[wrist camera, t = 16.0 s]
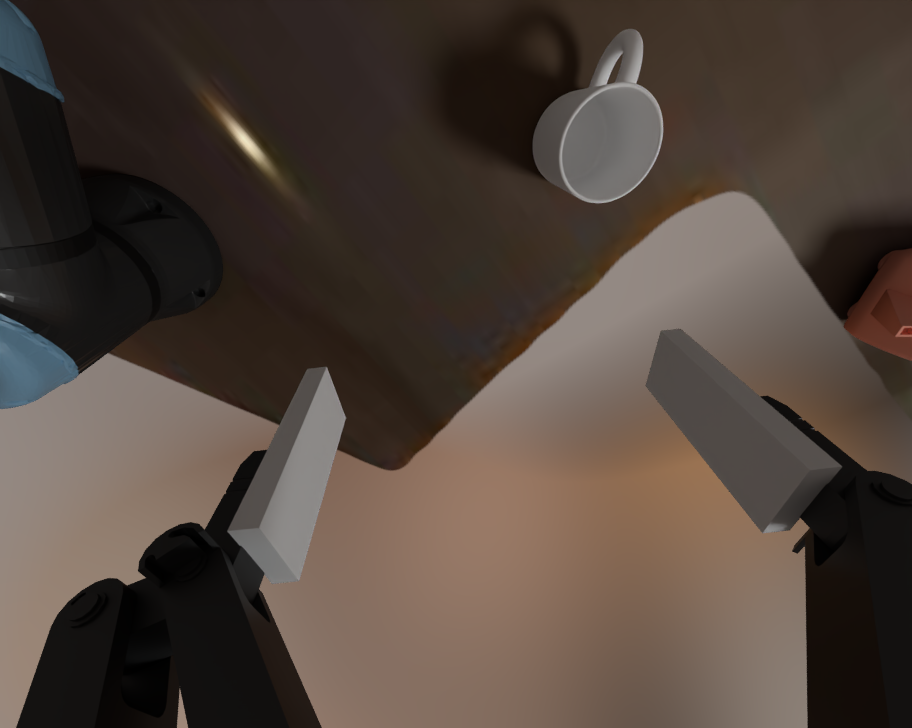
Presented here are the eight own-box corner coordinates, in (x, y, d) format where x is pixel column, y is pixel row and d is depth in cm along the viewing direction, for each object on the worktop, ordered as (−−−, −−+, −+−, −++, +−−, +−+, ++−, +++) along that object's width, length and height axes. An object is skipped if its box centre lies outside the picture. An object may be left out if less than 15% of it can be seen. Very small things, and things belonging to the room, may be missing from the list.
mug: (562, 27, 32) (609, -5, 23) (644, 55, 33) (716, 34, 25) (519, 174, 38) (543, 190, 30) (589, 192, 40) (631, 213, 31)
